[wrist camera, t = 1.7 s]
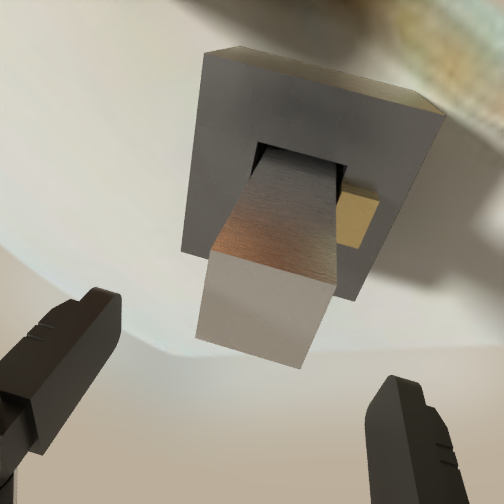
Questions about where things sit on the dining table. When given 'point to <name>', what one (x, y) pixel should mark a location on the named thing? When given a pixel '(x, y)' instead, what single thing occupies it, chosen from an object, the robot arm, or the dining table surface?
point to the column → (274, 260)
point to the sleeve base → (306, 147)
